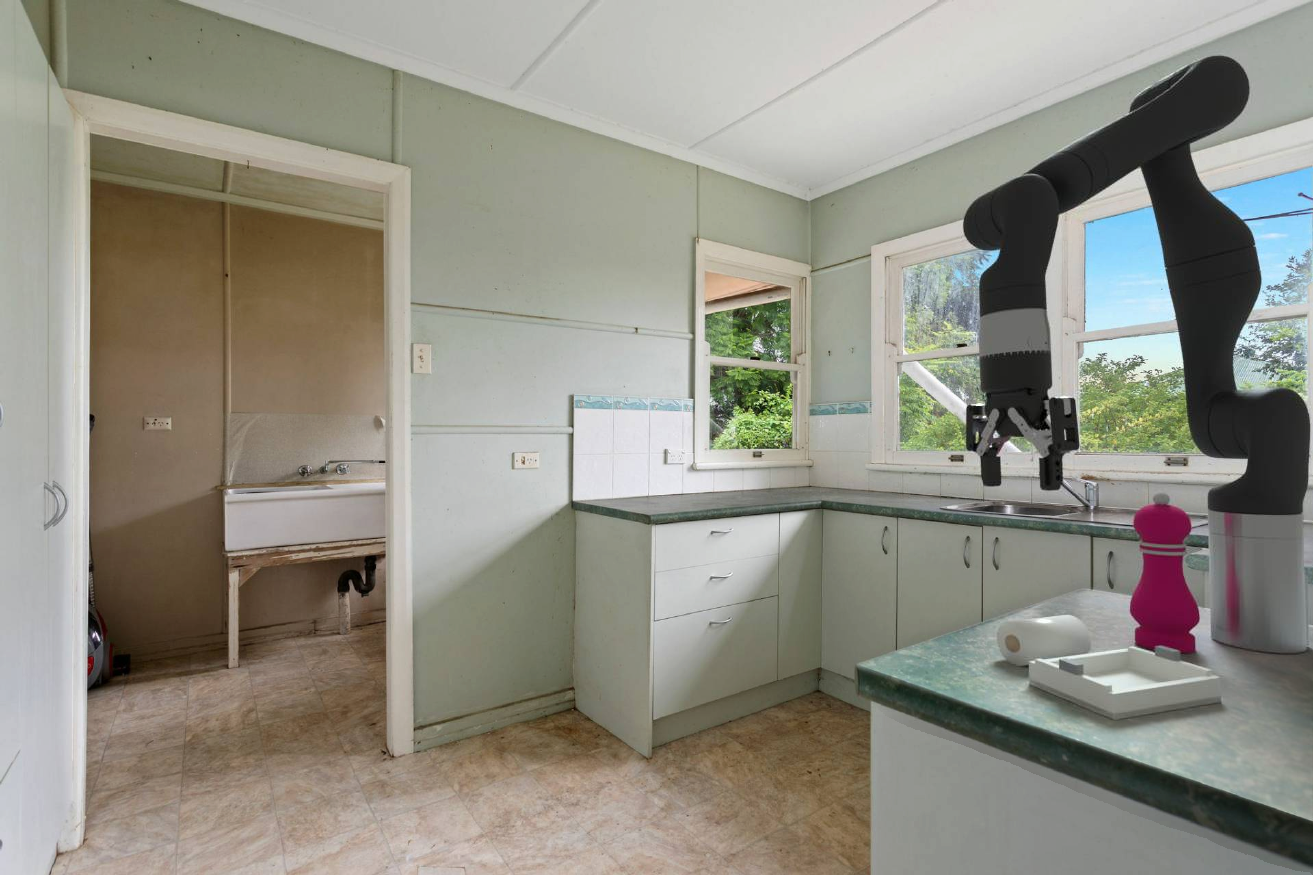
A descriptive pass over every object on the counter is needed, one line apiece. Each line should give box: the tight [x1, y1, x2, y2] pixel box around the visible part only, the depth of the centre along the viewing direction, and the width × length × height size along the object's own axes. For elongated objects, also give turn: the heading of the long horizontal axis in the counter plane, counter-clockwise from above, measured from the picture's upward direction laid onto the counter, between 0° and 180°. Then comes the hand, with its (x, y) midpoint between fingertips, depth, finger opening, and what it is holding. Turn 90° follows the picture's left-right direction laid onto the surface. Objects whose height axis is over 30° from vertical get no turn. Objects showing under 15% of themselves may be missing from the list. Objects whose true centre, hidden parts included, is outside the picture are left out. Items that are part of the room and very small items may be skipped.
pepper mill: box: [1129, 491, 1201, 654], centre depth 85 cm, size 7×7×20 cm
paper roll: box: [996, 614, 1092, 667], centre depth 81 cm, size 10×5×5 cm, turn 106°
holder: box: [1028, 645, 1222, 721], centre depth 70 cm, size 14×10×4 cm
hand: (1019, 488), depth 78 cm, fingers open, 8 cm apart
